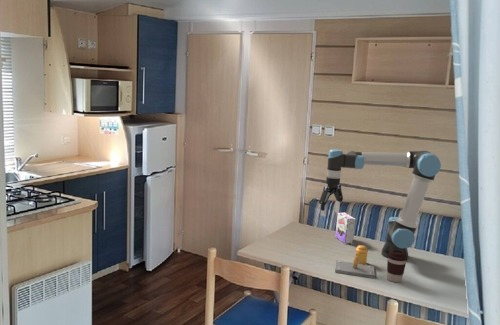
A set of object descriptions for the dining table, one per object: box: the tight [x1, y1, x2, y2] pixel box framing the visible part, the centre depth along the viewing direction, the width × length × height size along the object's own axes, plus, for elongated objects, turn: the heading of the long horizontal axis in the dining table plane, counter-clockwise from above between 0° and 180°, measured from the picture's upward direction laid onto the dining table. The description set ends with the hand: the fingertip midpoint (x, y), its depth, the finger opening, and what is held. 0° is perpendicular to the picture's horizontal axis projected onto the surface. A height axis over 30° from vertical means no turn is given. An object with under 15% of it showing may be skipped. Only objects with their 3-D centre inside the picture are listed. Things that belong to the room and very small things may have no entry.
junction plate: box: [334, 256, 376, 279], centre depth 258 cm, size 20×14×8 cm
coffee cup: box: [386, 250, 409, 283], centre depth 248 cm, size 10×10×15 cm
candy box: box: [334, 212, 356, 245], centre depth 307 cm, size 14×6×16 cm, turn 17°
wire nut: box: [355, 244, 369, 265], centre depth 269 cm, size 6×6×10 cm
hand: (330, 214), depth 275 cm, fingers open, 13 cm apart
